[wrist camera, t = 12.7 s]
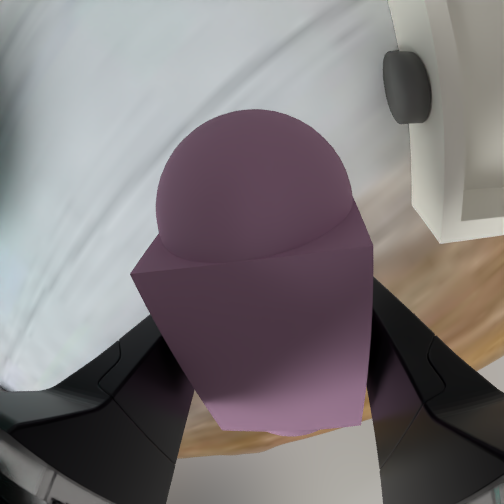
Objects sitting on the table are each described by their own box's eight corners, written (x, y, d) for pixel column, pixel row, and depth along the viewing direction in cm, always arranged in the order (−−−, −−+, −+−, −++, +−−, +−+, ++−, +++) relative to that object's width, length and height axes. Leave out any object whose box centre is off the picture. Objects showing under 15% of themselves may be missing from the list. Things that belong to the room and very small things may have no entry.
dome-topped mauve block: (172, 121, 8) (84, 167, 5) (326, 90, 7) (361, 105, 4) (252, 366, 14) (239, 452, 10) (349, 359, 13) (356, 448, 9)
